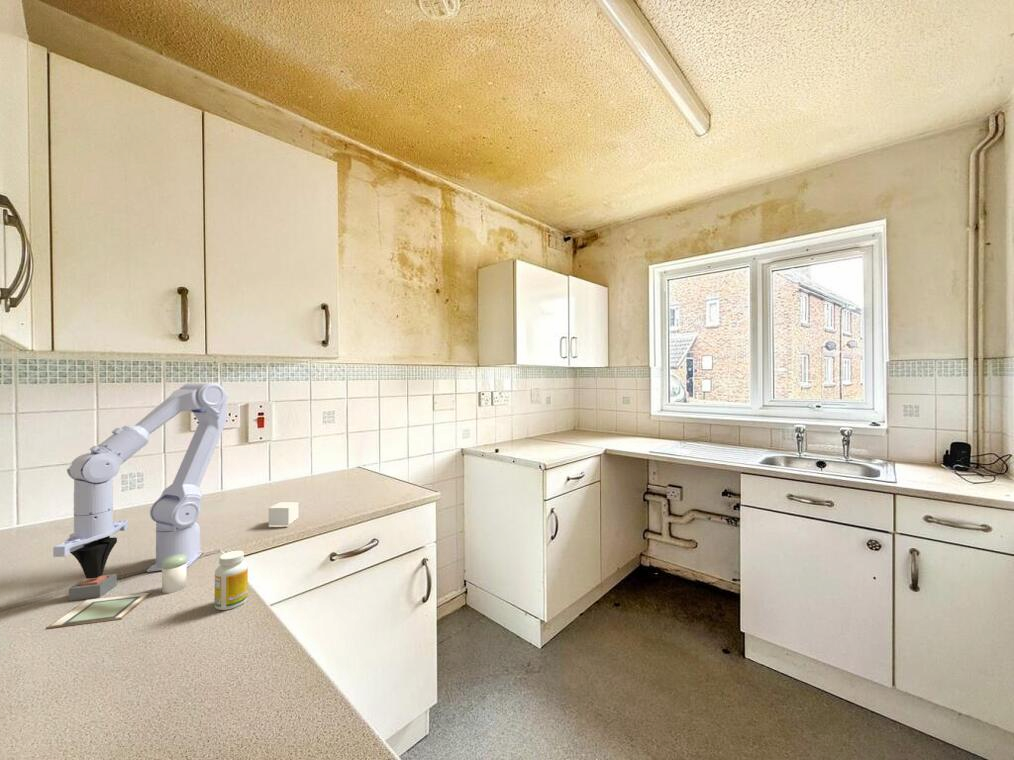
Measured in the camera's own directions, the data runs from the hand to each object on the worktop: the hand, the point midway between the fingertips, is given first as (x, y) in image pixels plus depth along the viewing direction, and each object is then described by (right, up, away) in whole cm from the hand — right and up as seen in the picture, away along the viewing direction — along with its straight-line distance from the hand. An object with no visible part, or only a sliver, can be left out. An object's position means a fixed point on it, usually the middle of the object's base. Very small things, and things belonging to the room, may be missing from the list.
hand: (94, 576), depth 84 cm
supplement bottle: (+32, -3, -4) cm, 32 cm away
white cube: (+17, -4, +40) cm, 44 cm away
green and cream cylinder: (+15, -3, +2) cm, 16 cm away
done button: (0, -2, 0) cm, 2 cm away
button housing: (0, -3, 0) cm, 3 cm away
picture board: (+8, -3, -6) cm, 11 cm away
